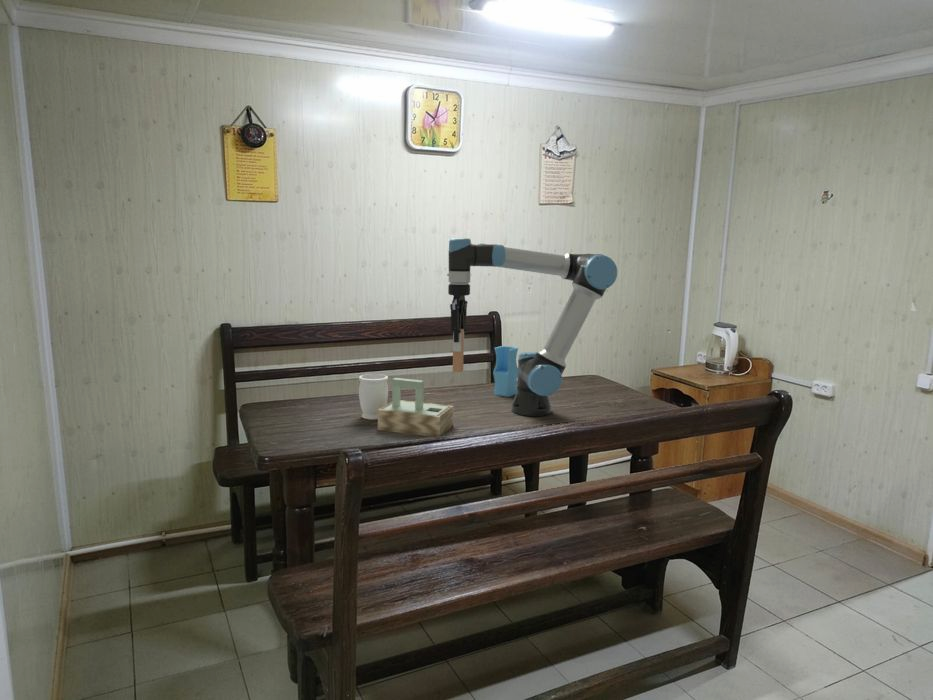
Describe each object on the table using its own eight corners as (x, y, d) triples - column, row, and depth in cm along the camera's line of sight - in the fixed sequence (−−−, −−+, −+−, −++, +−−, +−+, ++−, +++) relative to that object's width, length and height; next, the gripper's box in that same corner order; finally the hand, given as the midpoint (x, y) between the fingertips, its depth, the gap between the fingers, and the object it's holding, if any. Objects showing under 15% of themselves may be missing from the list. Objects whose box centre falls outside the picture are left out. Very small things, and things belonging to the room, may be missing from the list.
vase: (492, 393, 268) (494, 347, 265) (501, 390, 275) (503, 345, 271) (508, 397, 264) (510, 350, 261) (517, 393, 270) (519, 347, 267)
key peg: (463, 370, 224) (463, 328, 221) (460, 372, 221) (461, 330, 219) (455, 370, 225) (455, 328, 222) (452, 371, 222) (453, 329, 219)
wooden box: (453, 425, 222) (453, 405, 220) (438, 437, 208) (439, 417, 206) (395, 418, 228) (395, 399, 227) (377, 429, 214) (377, 409, 213)
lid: (448, 409, 220) (449, 379, 218) (436, 418, 208) (437, 387, 206) (397, 403, 225) (397, 374, 223) (382, 412, 214) (383, 381, 212)
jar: (374, 422, 222) (375, 381, 219) (352, 417, 227) (352, 377, 224) (393, 416, 231) (394, 376, 228) (372, 411, 236) (372, 372, 233)
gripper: (455, 281, 226) (454, 346, 230) (441, 284, 211) (441, 353, 215) (475, 282, 224) (474, 347, 228) (463, 285, 209) (462, 355, 213)
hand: (458, 350), depth 222 cm, fingers closed on key peg, 3 cm apart
